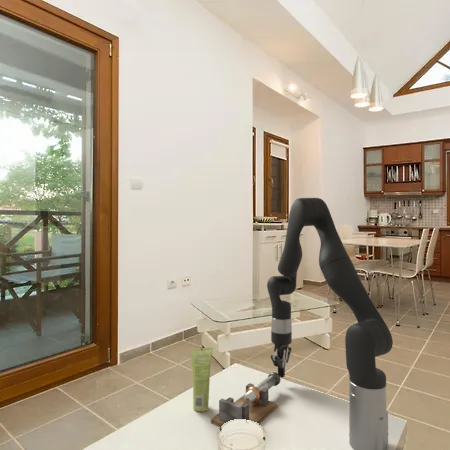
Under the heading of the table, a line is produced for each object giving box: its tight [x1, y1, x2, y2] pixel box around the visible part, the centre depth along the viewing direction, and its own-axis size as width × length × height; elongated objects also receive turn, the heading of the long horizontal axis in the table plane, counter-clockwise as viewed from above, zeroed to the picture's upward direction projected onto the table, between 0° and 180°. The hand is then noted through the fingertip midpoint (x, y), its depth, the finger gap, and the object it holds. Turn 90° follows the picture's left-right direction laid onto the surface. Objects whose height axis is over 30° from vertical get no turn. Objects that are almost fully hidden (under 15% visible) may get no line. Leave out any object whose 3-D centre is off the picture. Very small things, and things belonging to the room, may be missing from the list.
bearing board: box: [210, 382, 278, 428], centre depth 111 cm, size 12×20×7 cm, turn 144°
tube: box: [189, 346, 214, 412], centre depth 115 cm, size 6×5×20 cm
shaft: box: [241, 371, 282, 405], centre depth 119 cm, size 5×19×5 cm, turn 144°
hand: (281, 376), depth 131 cm, fingers closed
